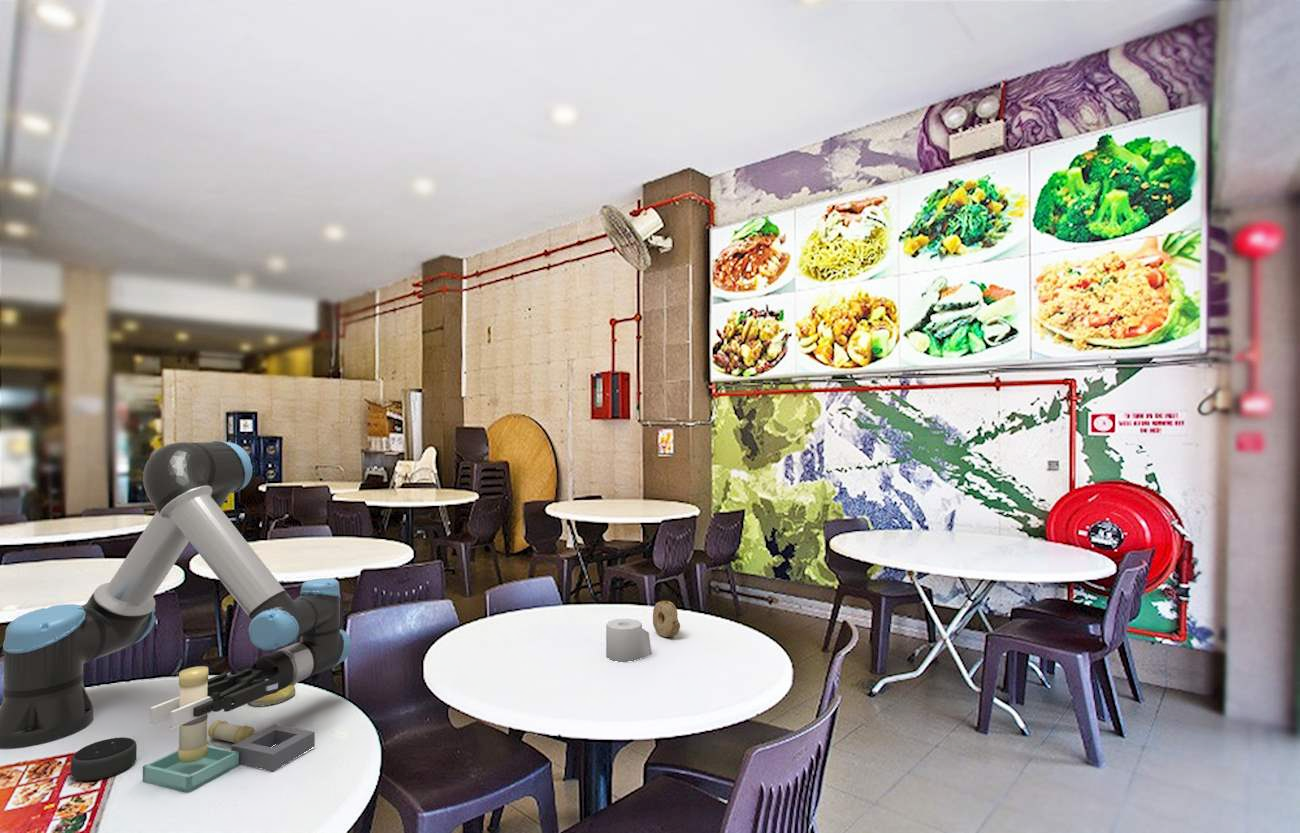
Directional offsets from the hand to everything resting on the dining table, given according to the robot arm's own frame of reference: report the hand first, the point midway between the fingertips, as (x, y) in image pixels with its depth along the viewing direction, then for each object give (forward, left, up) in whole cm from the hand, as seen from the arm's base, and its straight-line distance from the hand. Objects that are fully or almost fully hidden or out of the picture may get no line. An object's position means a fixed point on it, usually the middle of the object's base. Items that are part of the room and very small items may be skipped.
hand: (161, 717), depth 108 cm
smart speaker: (-16, +1, -12) cm, 20 cm away
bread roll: (-15, +34, -12) cm, 39 cm away
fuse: (-5, +16, -12) cm, 21 cm away
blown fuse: (0, +5, -9) cm, 10 cm away
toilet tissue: (+52, +86, -12) cm, 101 cm away
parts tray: (0, +5, -12) cm, 13 cm away
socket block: (+8, +15, -12) cm, 21 cm away
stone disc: (+56, +104, -12) cm, 119 cm away
